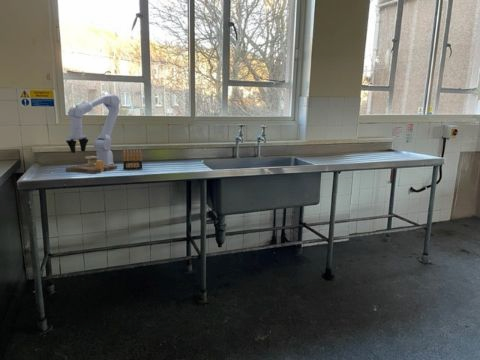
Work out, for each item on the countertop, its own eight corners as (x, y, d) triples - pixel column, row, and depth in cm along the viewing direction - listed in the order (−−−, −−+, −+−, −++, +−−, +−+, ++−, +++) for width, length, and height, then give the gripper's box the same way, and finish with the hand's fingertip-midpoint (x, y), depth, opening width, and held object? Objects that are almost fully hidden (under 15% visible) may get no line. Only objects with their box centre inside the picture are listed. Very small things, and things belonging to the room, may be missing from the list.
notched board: (89, 166, 216) (89, 163, 216) (116, 168, 210) (116, 165, 210) (66, 170, 200) (65, 167, 199) (95, 173, 193) (95, 170, 193)
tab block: (99, 170, 202) (98, 160, 201) (103, 171, 202) (103, 160, 200) (95, 171, 199) (95, 161, 198) (100, 172, 199) (100, 161, 198)
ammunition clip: (142, 168, 212) (141, 148, 210) (142, 169, 211) (141, 148, 208) (123, 169, 209) (122, 148, 207) (123, 169, 207) (122, 149, 205)
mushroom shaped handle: (90, 164, 212) (90, 155, 211) (99, 164, 210) (98, 156, 209) (83, 165, 206) (82, 157, 205) (91, 166, 204) (91, 157, 203)
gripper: (80, 127, 214) (81, 150, 216) (61, 128, 200) (63, 152, 203) (90, 128, 211) (91, 151, 214) (71, 129, 198) (72, 153, 201)
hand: (78, 152), depth 208 cm, fingers open, 7 cm apart
